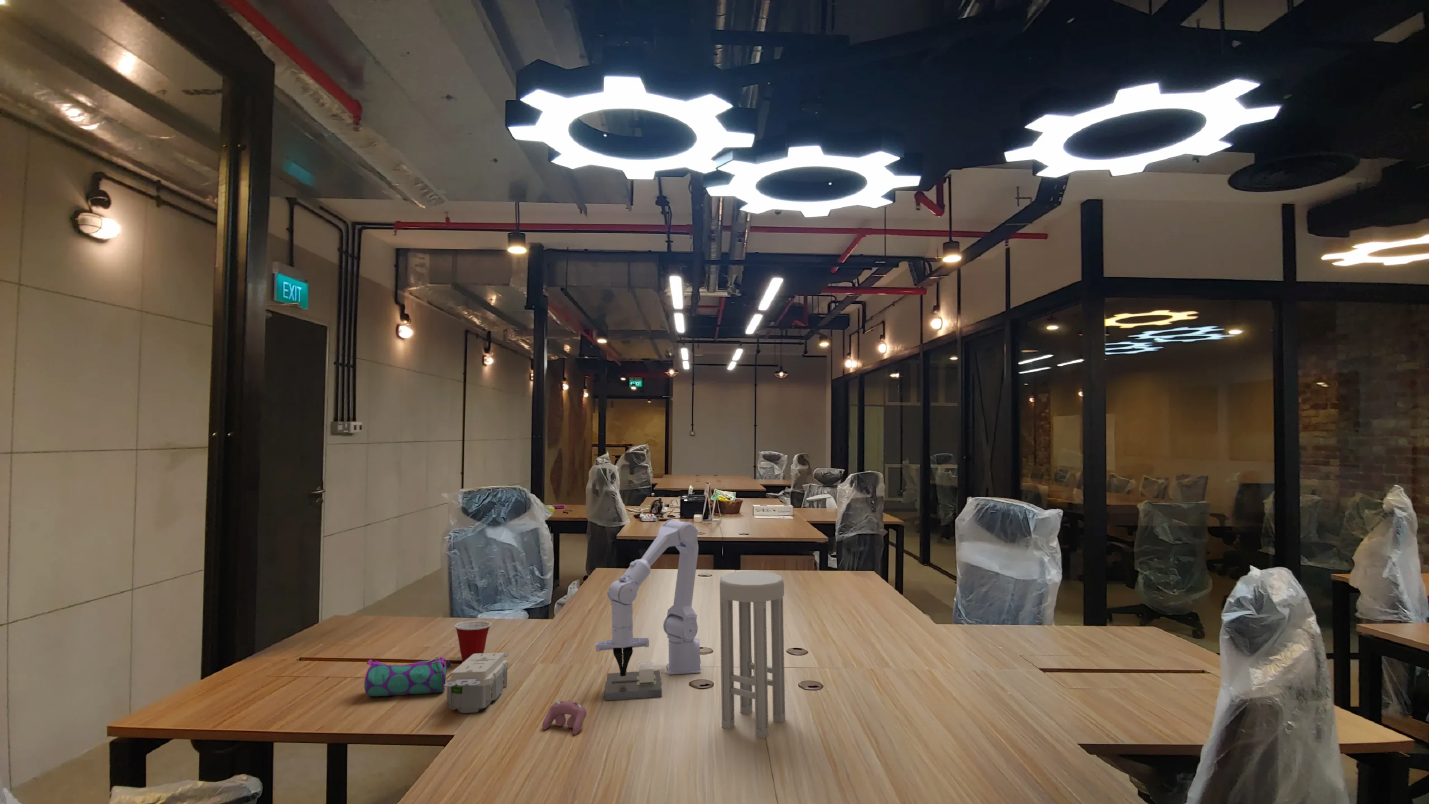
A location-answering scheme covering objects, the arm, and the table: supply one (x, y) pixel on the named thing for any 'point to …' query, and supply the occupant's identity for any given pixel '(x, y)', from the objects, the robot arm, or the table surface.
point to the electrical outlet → (477, 682)
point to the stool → (758, 591)
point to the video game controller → (558, 714)
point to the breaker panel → (631, 686)
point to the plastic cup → (472, 637)
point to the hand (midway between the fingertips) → (622, 674)
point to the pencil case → (406, 678)
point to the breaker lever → (646, 672)
